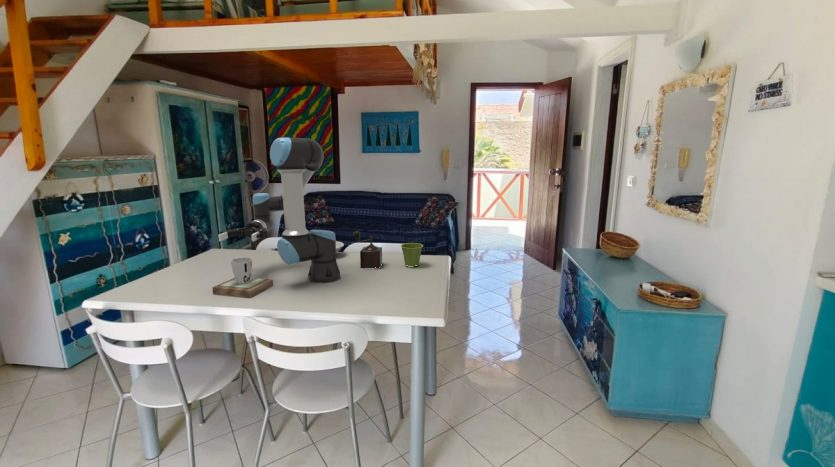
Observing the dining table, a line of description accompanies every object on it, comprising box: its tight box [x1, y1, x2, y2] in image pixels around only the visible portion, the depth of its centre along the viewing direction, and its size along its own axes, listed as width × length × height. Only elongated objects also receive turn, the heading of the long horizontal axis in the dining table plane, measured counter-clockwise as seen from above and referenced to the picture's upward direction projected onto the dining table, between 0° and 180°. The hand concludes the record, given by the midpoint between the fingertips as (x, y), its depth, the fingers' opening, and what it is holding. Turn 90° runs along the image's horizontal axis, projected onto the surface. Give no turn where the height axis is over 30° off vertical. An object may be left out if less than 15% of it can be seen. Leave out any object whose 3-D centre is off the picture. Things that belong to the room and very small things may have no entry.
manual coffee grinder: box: [352, 230, 383, 269], centre depth 208 cm, size 16×11×18 cm
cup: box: [230, 257, 253, 284], centre depth 170 cm, size 8×8×10 cm
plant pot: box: [400, 242, 424, 266], centre depth 209 cm, size 12×12×11 cm
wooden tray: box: [211, 276, 274, 299], centre depth 171 cm, size 18×16×3 cm
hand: (236, 238), depth 164 cm, fingers open, 13 cm apart
